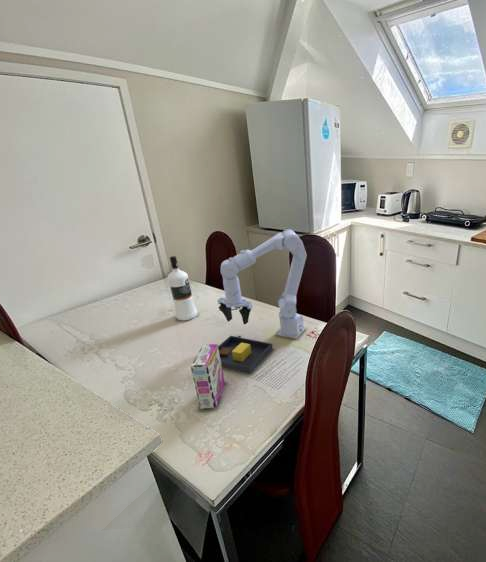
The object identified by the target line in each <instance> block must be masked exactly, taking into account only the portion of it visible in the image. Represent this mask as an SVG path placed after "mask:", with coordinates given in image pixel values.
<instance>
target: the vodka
mask: <svg viewBox="0 0 486 562" xmlns="http://www.w3.org/2000/svg"><path fill="white" fill-rule="evenodd" d="M169 261H170V266H171V268H172V269H171V270H172V271H171V272H170V273H169V274H168V275H167V276H166V277H167V282H168V286H169V288H170V292H171V297H172V301H173V305H174V310H175V318H176V319H177V320H179V321H182V322H183V321H189V320H192V319H194V318H195V317H197V315H198V309H197V307H196V304H195V301H194V298H193V297H194V295H193V293H192V289H191V285H190V280H189V274H188V273H187V272H186V271H184V270H182V269H181V270H180V268H179V267H180V266H179V263H178V260H177V256H176V255H175V256H174V255H172V256H170V257H169Z"/></svg>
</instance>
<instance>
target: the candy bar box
mask: <svg viewBox="0 0 486 562" xmlns="http://www.w3.org/2000/svg"><path fill="white" fill-rule="evenodd" d="M218 346H219V344H218V343H213V344H212V343H211V344H210V343H209V344H202V346H201V348H200V349H199V351H198V353H197V354H196V357H195V358H194V359H193V362H192V363H191V365H190V369H191V374H192V379H193V382H194V387H195V391H196V395H197V399H198V404H199V408H200V409H199V410H213V409H214V410H215V409H217V407H218V404H219V401H220V399H221V395H222V392H223V390H224V387H225V385H226V380H225V376H224V370H223V367H222V365H221V359H220V354H219V348H218Z"/></svg>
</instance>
